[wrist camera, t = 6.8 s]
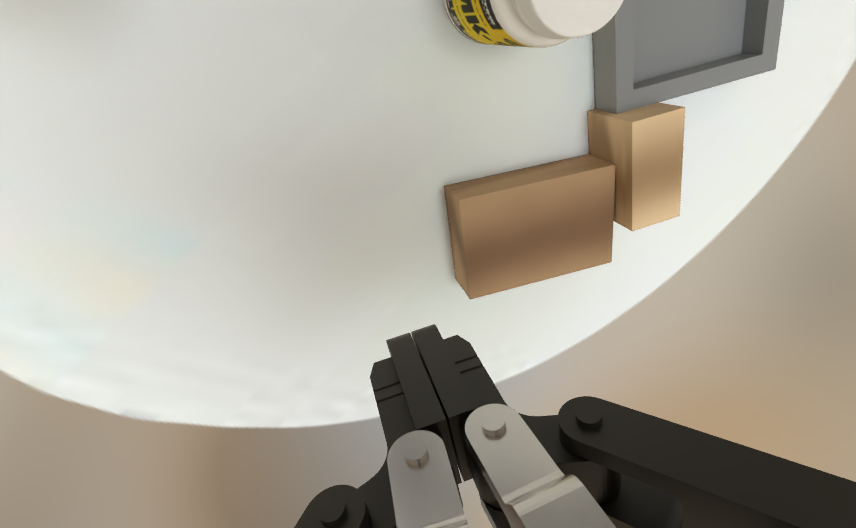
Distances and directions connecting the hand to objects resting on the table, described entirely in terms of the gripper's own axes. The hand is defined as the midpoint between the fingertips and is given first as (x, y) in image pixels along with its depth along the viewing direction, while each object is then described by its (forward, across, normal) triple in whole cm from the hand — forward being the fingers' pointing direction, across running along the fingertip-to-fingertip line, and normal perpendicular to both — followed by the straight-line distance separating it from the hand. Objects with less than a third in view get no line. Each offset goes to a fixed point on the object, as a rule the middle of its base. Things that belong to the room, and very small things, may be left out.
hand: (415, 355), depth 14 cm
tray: (+14, -20, -6) cm, 25 cm away
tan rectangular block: (+14, -16, +2) cm, 21 cm away
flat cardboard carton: (+14, -9, +4) cm, 17 cm away
